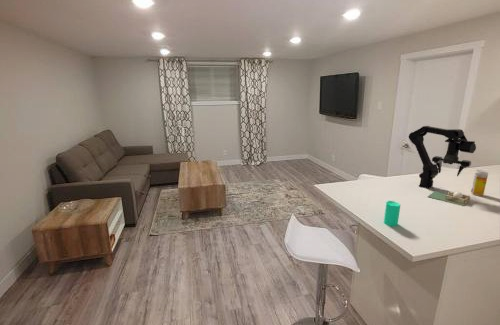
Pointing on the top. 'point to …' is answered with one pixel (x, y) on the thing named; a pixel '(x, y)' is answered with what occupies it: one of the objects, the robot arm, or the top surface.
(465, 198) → the u-shaped wooden rail
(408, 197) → the top surface
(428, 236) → the top surface
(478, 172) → the orange cylindrical container
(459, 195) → the golf ball
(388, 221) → the candle
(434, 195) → the putting mat
